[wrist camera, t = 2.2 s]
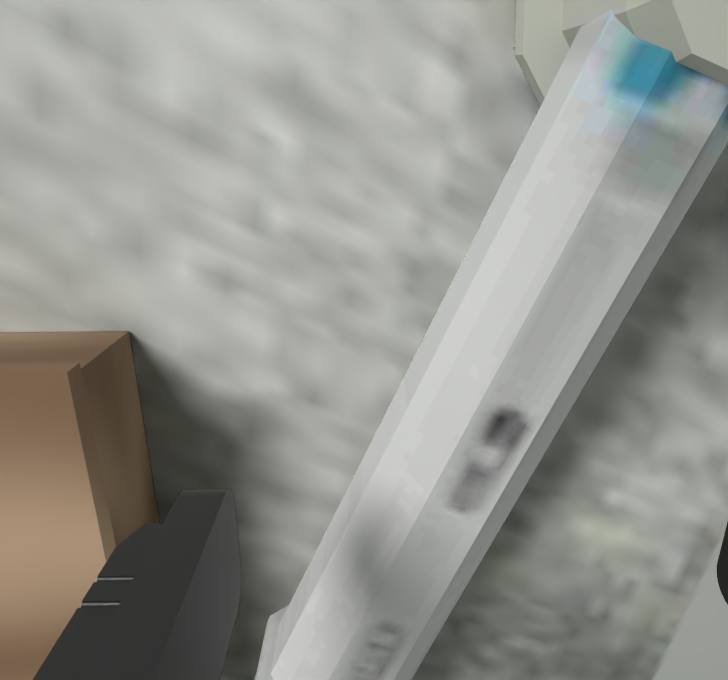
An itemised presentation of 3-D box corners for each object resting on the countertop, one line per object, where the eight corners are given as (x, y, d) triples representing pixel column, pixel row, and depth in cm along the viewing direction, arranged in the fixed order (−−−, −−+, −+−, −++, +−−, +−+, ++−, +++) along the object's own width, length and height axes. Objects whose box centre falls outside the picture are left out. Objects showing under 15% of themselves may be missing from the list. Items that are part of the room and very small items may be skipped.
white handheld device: (198, 793, 15) (920, -794, 4) (250, 585, 21) (594, -271, 10) (375, 830, 15) (1409, -427, 5) (376, 619, 21) (827, -146, 11)
